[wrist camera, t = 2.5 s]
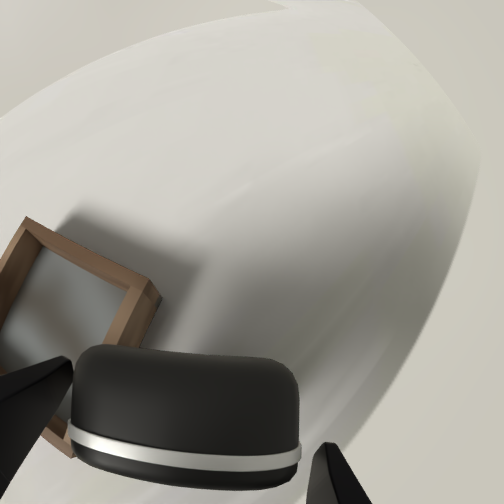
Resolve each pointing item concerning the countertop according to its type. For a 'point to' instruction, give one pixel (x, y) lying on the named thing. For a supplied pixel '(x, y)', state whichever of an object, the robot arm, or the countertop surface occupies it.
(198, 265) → the countertop surface
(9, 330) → the wooden tray
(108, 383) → the battery charger
